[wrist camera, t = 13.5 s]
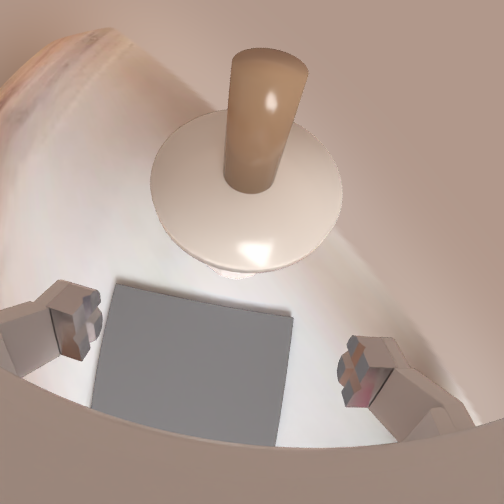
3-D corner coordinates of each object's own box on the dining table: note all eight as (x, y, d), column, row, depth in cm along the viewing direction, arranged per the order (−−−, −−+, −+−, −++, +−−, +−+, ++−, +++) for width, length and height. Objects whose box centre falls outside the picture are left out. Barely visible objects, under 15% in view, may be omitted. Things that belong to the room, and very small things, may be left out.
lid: (129, 253, 16) (68, 150, 8) (182, 111, 21) (178, 9, 12) (334, 288, 17) (429, 215, 8) (334, 138, 21) (378, 46, 13)
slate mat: (89, 449, 19) (87, 450, 18) (118, 285, 25) (116, 283, 24) (265, 486, 20) (267, 488, 19) (291, 318, 26) (293, 317, 25)
